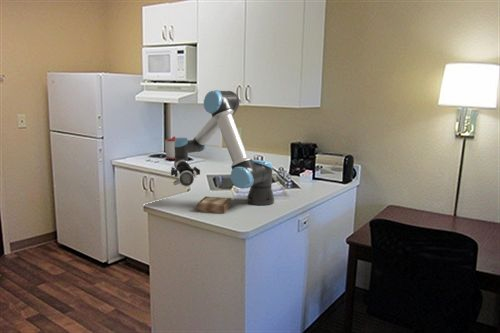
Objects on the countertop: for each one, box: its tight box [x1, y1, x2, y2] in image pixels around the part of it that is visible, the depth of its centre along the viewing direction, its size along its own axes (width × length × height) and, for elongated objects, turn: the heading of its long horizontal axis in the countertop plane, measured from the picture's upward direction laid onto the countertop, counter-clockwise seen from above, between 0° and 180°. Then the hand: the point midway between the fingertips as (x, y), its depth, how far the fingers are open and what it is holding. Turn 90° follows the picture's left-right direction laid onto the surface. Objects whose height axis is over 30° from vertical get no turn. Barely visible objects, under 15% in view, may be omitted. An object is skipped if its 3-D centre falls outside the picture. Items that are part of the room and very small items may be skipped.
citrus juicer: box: [164, 136, 177, 160], centre depth 358 cm, size 16×17×20 cm
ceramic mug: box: [173, 170, 195, 187], centre depth 216 cm, size 11×8×8 cm
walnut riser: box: [196, 196, 232, 214], centre depth 212 cm, size 14×15×4 cm
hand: (187, 175), depth 211 cm, fingers closed on ceramic mug, 8 cm apart
